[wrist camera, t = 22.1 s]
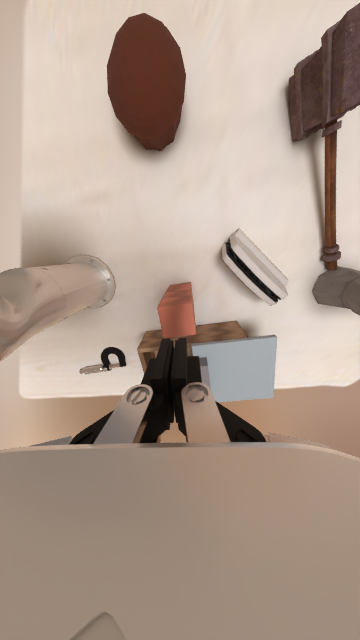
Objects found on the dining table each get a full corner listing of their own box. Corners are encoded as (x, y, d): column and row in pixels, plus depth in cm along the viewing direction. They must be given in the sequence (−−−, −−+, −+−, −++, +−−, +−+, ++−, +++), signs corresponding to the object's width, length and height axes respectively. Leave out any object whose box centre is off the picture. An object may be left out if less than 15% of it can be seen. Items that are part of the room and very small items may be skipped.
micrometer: (121, 344, 48) (117, 349, 46) (129, 364, 51) (126, 370, 48) (74, 352, 50) (69, 357, 48) (84, 371, 53) (79, 377, 50)
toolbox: (158, 378, 51) (152, 402, 43) (146, 331, 46) (137, 349, 37) (238, 371, 49) (248, 395, 41) (236, 320, 43) (247, 337, 35)
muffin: (181, 164, 32) (178, 128, 23) (124, 157, 32) (98, 118, 23) (190, 73, 28) (190, -18, 18) (123, 65, 28) (90, -30, 18)
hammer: (332, 46, 25) (414, -41, 16) (327, 256, 41) (366, 266, 33) (285, 76, 26) (338, 10, 18) (298, 267, 42) (329, 281, 34)
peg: (173, 304, 42) (163, 338, 26) (170, 285, 41) (157, 307, 24) (193, 302, 42) (196, 334, 25) (190, 282, 40) (191, 302, 23)
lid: (199, 399, 42) (200, 414, 38) (191, 343, 36) (191, 354, 32) (271, 394, 40) (279, 409, 36) (274, 334, 34) (285, 344, 30)
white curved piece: (287, 279, 39) (300, 300, 31) (269, 292, 42) (276, 314, 34) (237, 226, 35) (237, 236, 28) (221, 244, 38) (217, 257, 31)
